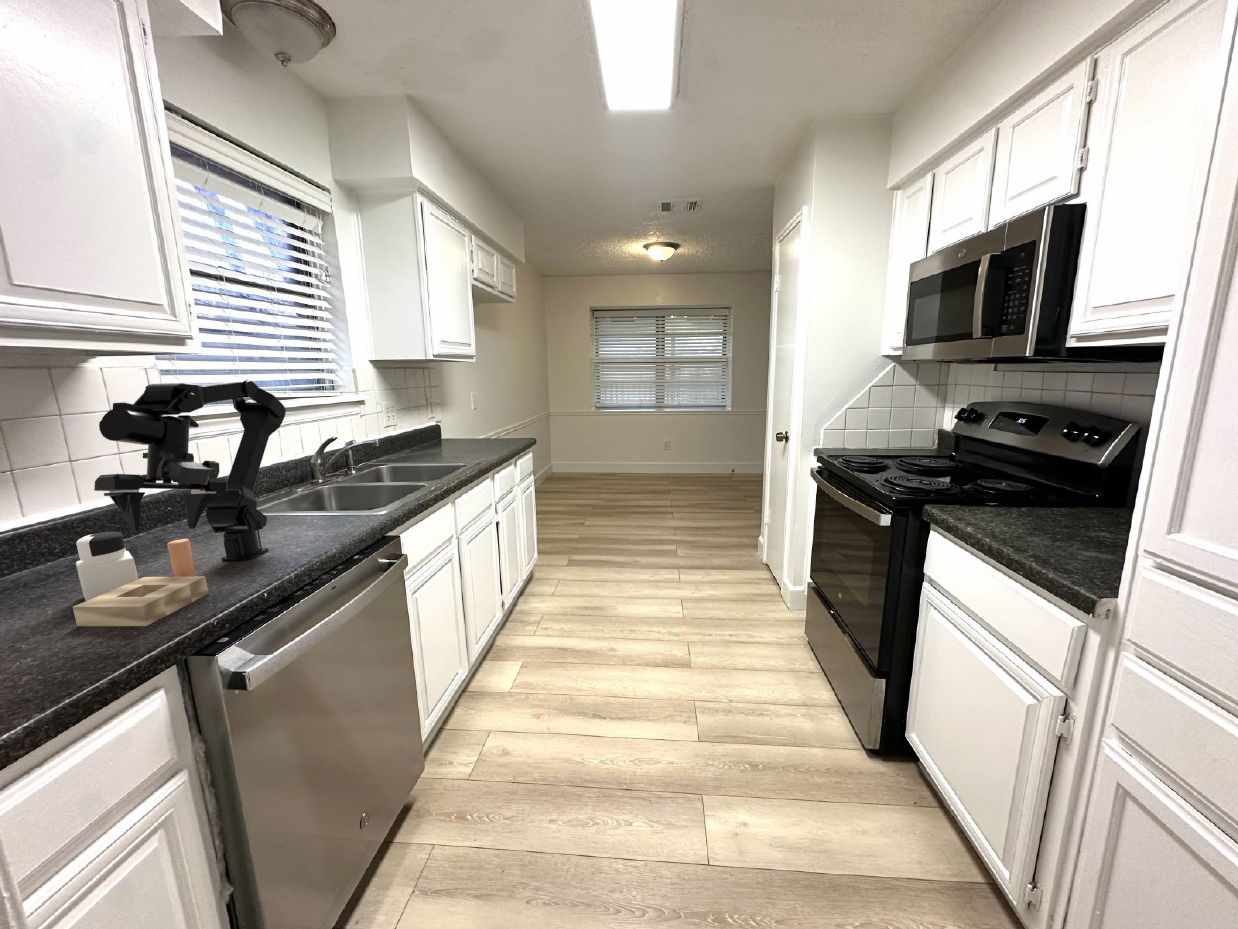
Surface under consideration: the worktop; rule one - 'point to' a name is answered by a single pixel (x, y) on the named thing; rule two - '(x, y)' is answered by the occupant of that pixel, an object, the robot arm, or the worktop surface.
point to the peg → (181, 558)
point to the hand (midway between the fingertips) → (164, 530)
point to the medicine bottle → (104, 564)
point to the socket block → (140, 601)
